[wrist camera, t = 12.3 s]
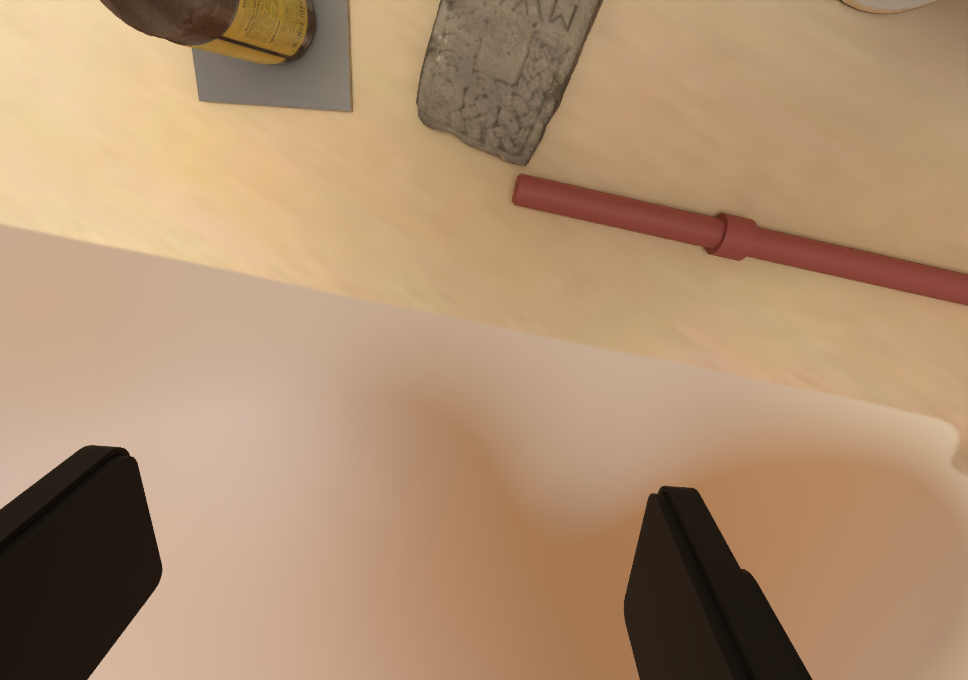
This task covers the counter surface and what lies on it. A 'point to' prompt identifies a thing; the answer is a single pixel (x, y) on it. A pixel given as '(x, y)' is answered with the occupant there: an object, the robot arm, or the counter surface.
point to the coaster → (287, 70)
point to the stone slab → (501, 70)
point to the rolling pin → (739, 238)
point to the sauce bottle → (226, 25)
